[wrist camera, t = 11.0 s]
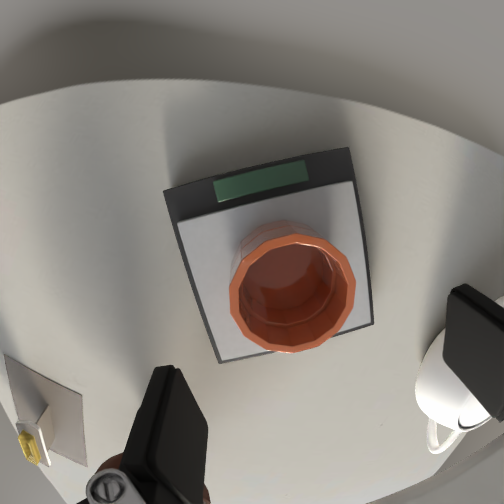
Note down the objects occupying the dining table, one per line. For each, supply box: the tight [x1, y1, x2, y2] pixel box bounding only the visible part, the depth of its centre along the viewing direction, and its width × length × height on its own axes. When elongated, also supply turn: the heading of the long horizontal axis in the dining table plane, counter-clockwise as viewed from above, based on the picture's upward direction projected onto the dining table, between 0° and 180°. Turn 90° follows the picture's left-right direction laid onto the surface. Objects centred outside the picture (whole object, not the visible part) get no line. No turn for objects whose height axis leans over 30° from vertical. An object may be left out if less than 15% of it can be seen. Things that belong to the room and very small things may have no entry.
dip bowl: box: [229, 220, 356, 353], centre depth 18 cm, size 7×7×5 cm
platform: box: [4, 354, 88, 467], centre depth 25 cm, size 12×18×7 cm, turn 161°
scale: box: [163, 147, 374, 364], centre depth 22 cm, size 14×13×3 cm
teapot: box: [415, 296, 504, 454], centre depth 22 cm, size 22×14×11 cm, turn 164°
